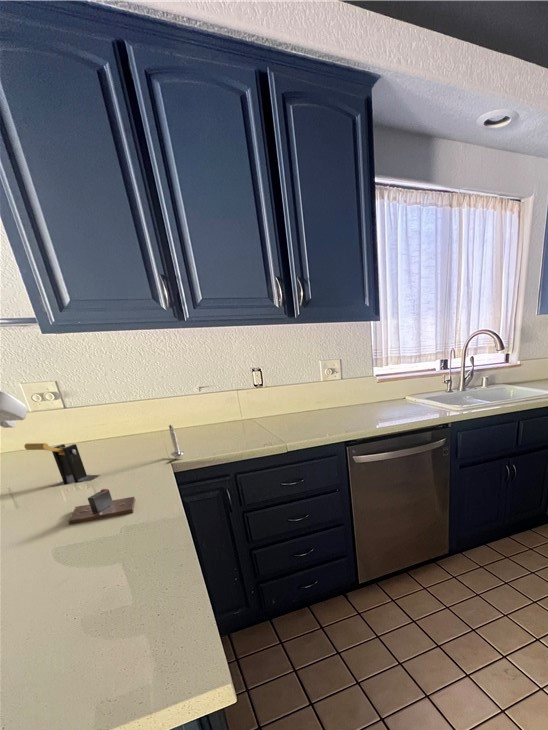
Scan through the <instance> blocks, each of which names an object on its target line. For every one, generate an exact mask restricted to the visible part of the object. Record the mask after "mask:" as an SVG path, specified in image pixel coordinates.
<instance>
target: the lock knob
mask: <svg viewBox="0 0 548 730" xmlns="http://www.w3.org/2000/svg"><path fill="white" fill-rule="evenodd" d="M112 500H113V497H112V494H111V491H110V490H109V489H108V488H102V489H100V491H98V492H96V493H95V494H92V495H91V496H89V497H87V501H88V505H89V504H90V507H91V510H92V512H100V511H101V510H103V509H105V508H106V507H108V506H110V505H111V504H113V501H112Z"/></svg>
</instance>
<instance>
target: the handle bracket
mask: <svg viewBox="0 0 548 730" xmlns="http://www.w3.org/2000/svg"><path fill="white" fill-rule="evenodd" d="M59 447H64V448H63V451H64V453H65V456H63V455H59V452H54V451H51V453H52V455H53V458H54V460H55V463H56V466H57V468H58V471H59V474H60V477H61V479H62V480H61V481H60V482H58V483H56V484H53V485H51V486H50V488H54V487H60V486H67V485H72V484H79V483H85V482H91V481H93V480H95V479H97V478H99V477H101V474H87V472H86V469H85V466H84V462H83V460H82V457H81V453H80V452H79V449H78V445H77V444H76V443H73V444H70V445H67V446H66V445H65V444H64V443H63V444H59V445H56V446H53V448H58V449H59Z"/></svg>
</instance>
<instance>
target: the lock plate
mask: <svg viewBox="0 0 548 730" xmlns="http://www.w3.org/2000/svg"><path fill="white" fill-rule="evenodd" d="M112 501H113V504H111V505H110V506H108V507H106V508H105V509H103V510H101V511H100V512H92V510H91V507H90V504H89V503H88V504H85V505H79V506H74V509H73V511H72V513H71V515H70V517H69V519H68V524H69V526H71V525H77V524H81V523H86V522H87V523H88V522H91V521H92V522H93V521H96V520H97V521H98V520H104V519H108V518H113V517H119V516H124V515H129V514H134V511H135V504H136V497H135V496H129V497H123V498H117V499H112Z"/></svg>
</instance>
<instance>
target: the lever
mask: <svg viewBox="0 0 548 730" xmlns="http://www.w3.org/2000/svg"><path fill="white" fill-rule="evenodd" d="M53 447H54V446H53ZM53 447H52V446H50V445H49V444H48V443H46V442H43V443H42V442H41V443H40V442H33V443H32V442H28V443H25V444H24V449H25V450H26V451H48V452H52V451H54V452H59V455H63V456H65V453H64V451H63V448H64V447H59V449H58V448H53Z"/></svg>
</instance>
